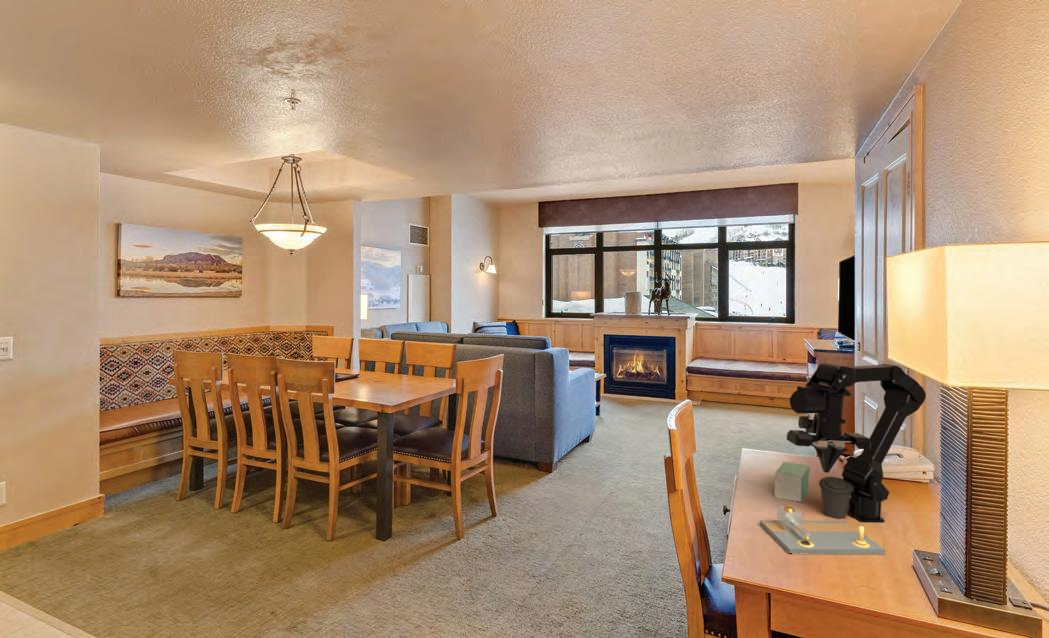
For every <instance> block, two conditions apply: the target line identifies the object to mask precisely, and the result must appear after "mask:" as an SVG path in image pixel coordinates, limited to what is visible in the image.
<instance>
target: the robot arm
mask: <svg viewBox="0 0 1049 638" xmlns="http://www.w3.org/2000/svg"><path fill="white" fill-rule="evenodd" d="M863 382H864V383H866V382H880V387H881V388H882V390H883V391H884V395H883V402H884V410H883V412H882V414H881V415H880V417H879V419H878V421H877V423H876V425H875V427H874V429H873V431H872V433H871V434H870V437H868V436H865V435H863V434H861V433H859V432H844V433H843V434H842V430H843V424H846V419H845V418H844V403H845V397H851V396H852V393H851V392H850V391H849V390H848V389H847V388H849V387H853V385H855V384H856V383H863ZM926 398H927V393H926V391H925V388H923V386H922V385H921V384H920V383H919V382H918V381H917V380H916V379H914V378H912V376H910V375H909V374H907V373H906V372H905V371H904V370H903V369H902V368H901V366H900V367H899V365H892V364H887V363H881V364H872V365H871V364H869V365H856V366H855V365H853V366H850V365H849V366H845V365H840V364H835V363H828V362H823V363H820V364H818V367H817V368H816V369H815V371H814V373H812V375H811V377H810V378H809V380H808V381H807V383H806V384H805V386H802V385H798V386H796V391H793V393H792V394H791V396H790V398H789V406H790V408H791V410H792V411H793V412H795V413H796V414H801V415H800V416H799V417H798V421H797V425H798V428H799V429H800V430H799V429H798V430H797V429H796V430H795V429H789V431H788V432H787V433H786V441H789V442H790V443H792V444H793V445H795V446H798V447H810V446H811V447H813V448H814V449H815V452H816V453H817V455H818V459H819V462H820V466H821V469H822V472H824V473H825V474H828V473H830V471H831V469H832V468H833V467H834V465H835V463H837V460H839V458H840V457H842V455H843V454H844V453H845V452H846V453H847V452H848V448H846V447H845V446H846V445H855V447H856V448H857V449H859V450H862V451H861V453H860V454H859V455H857V456H853V455H849V457H848V458H847V460H846V463H845V464H844V466H843V467H842V473H841V478H842V479H843V480H845V481H847V482H849V483H850V484H852V486H853V488H854V491H853V492H852V493H851V496H850V501H849V505H848V510H847V514H849V515H851V516H852V517H853V518H855V519H856V520H858V521H859V522H863V523H867V522H869V523H870V522H872V523H876V522H877V523H880V522H881V523H884V522H885V521H886V520H885V519H884V518H883V517H881V516H882V513H881V512H882V502H884V501H886V500H888V497H889V494H890V490H889V489H888V488H887V487H886V486H885V485H884V484H883V483H882V481H883V478H884V471H883V462H884V460H885V458H886V457H887V454H888V453H889V450H890V449H891V447H892V446H893V443H894V441H895V439H896V438H897V435H898V434H899V432H900V430H901V428H902V426H903V424H904V421H905V420H906V418H907V417H910V416H911V415H912V414H914V413H916V412H917V411H918V410H919V409H920V408H921V406H922V405H923V404H924V402H925V400H926ZM802 414H814V415H813V418H812V419H810V417H809V416H806V415H804V416H803V415H802ZM802 429H804V430H802Z"/></svg>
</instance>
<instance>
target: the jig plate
mask: <svg viewBox="0 0 1049 638" xmlns="http://www.w3.org/2000/svg"><path fill="white" fill-rule="evenodd" d="M759 525H760V527H761V528H763V530H765V532H766V533H767V534H768V535H770V537H772V539H773V540H775V541H776V543H778V545H780V546H781V547H782V548H783V550H785V551H786V552H787V553H788V554H789V553H811V554H810V555H869V556H870V555H872V556H873V555H878V556H879V555H880V556H881V555H885V554H886V549H885V548H884V547H882V546H881V545H880V544H878V543H877V542H875V541H874V540H872V539H871V538H870V537H868V536H867V535H865V526H863V525H858V528H856V527H855V526H853V525H852V524H851V523H849V522H847V521H846V520H801V526H802V527H803V528H804V529H806V530H807V531H808V532H809V533H810V537H809V543H808V542H805V536H804V535H802V534H801V533H800V532H799V531H787V530H784V529H782V528H781V527H780V526H779V525H778V524H777V519H775V520H771V519H768V520H765V519H762V520H761V519H760V520H759Z"/></svg>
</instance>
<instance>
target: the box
mask: <svg viewBox="0 0 1049 638" xmlns="http://www.w3.org/2000/svg"><path fill="white" fill-rule="evenodd" d="M809 478H810V466H809V465H805V464H801V463H796V462H789V461H783V462H782V464H781V465H780V466H779V468H777V470H775V473H774V492H773V493H774V497H775V496H776V497H775V498H778V497H781V498H780V499H782V498H785V499H784V500H787V499H790V500H789V501H791V500H795V501H794V502H796V501H799V502H798V503H801V502H802V501H803V500H804V499H805V497H806V495H807V492H808V490H809V486H810V481H809V480H810V479H809Z"/></svg>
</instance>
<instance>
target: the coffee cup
mask: <svg viewBox="0 0 1049 638" xmlns="http://www.w3.org/2000/svg"><path fill="white" fill-rule="evenodd" d="M818 484H819V487H820V495H821V502H822V503H821V505H822V513H824V514H825V515H824V514H823V515H824V516H826V517H828V518H830V517H831V519H834V518H835V520H845V519H846V518H847V514H848V513H847V510H849V501H850V498H851V493H852V492H853V491H854V488H853V486H852V484H850V483H849V482H847V481H845V480H843V478H842V477H837V476H824V477H822V478H821V479H820V480H819V481H818Z"/></svg>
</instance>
